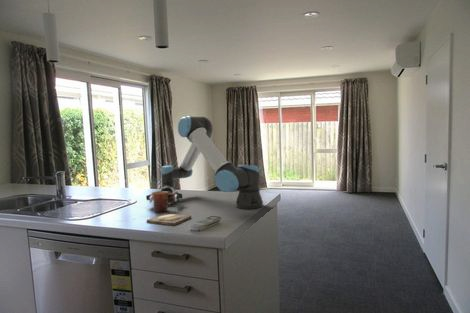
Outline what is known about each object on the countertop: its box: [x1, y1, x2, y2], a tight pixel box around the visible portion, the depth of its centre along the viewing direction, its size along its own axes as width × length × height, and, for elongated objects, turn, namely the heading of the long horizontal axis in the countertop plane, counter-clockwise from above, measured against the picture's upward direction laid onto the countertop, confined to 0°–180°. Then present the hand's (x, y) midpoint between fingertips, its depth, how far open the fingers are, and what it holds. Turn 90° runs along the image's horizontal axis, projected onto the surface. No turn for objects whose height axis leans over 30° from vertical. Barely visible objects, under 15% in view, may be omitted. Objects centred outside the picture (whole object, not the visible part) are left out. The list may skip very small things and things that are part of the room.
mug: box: [151, 190, 175, 213], centre depth 180 cm, size 12×9×10 cm
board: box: [146, 212, 192, 227], centre depth 161 cm, size 16×14×2 cm
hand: (162, 199), depth 183 cm, fingers open, 13 cm apart
